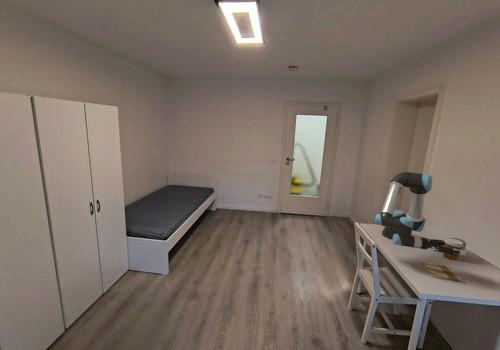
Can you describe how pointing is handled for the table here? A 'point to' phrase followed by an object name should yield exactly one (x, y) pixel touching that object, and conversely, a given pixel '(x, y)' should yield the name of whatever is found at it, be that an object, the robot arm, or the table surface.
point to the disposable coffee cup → (452, 247)
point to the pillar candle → (461, 249)
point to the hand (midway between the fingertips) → (461, 249)
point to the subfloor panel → (442, 272)
